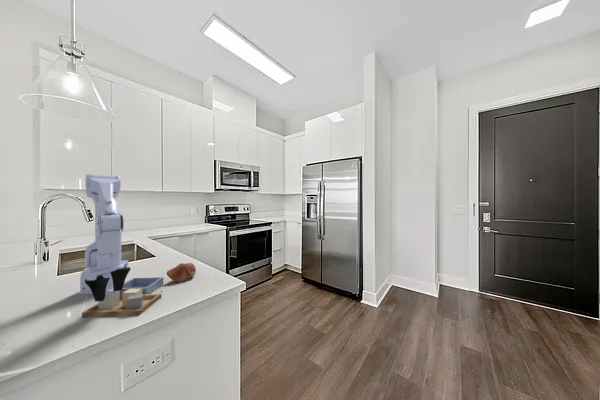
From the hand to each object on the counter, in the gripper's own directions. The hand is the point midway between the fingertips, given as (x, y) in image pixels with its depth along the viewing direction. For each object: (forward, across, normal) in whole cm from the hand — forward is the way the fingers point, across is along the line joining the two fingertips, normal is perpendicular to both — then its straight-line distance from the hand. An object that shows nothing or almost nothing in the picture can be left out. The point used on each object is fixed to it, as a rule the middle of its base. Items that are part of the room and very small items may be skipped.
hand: (109, 295), depth 71 cm
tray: (+4, +1, -4) cm, 6 cm away
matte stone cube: (+4, -2, -9) cm, 10 cm away
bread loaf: (+4, +26, -11) cm, 28 cm away
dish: (+4, +13, -1) cm, 14 cm away
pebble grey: (+4, 0, 0) cm, 4 cm away
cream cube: (+4, +2, -6) cm, 7 cm away
